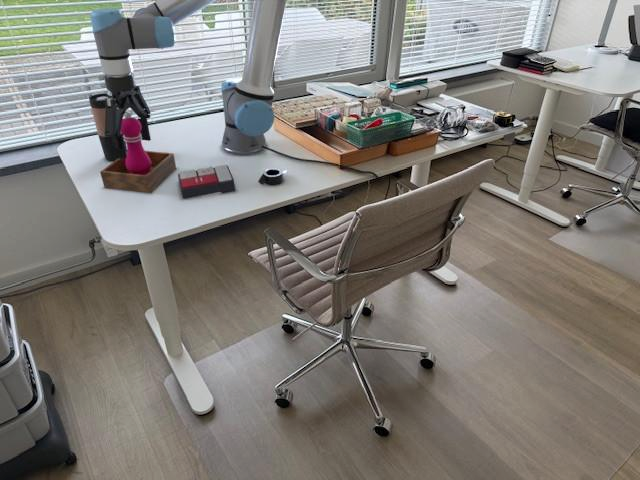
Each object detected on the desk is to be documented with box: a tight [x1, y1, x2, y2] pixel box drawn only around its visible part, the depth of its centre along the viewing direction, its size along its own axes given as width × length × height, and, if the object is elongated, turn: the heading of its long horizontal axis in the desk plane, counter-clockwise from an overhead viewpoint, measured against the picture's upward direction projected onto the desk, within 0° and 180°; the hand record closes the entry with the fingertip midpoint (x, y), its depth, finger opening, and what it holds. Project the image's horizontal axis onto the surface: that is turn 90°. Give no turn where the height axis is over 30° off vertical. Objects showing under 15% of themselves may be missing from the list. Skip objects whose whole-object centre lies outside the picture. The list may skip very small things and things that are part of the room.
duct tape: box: [257, 167, 288, 187], centre depth 139 cm, size 8×10×3 cm
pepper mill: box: [120, 112, 151, 175], centre depth 134 cm, size 7×7×20 cm
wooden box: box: [99, 150, 177, 194], centre depth 138 cm, size 15×17×5 cm
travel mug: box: [88, 93, 127, 163], centre depth 146 cm, size 8×8×20 cm
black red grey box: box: [177, 164, 236, 200], centre depth 135 cm, size 11×4×15 cm
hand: (134, 148), depth 135 cm, fingers open, 13 cm apart
